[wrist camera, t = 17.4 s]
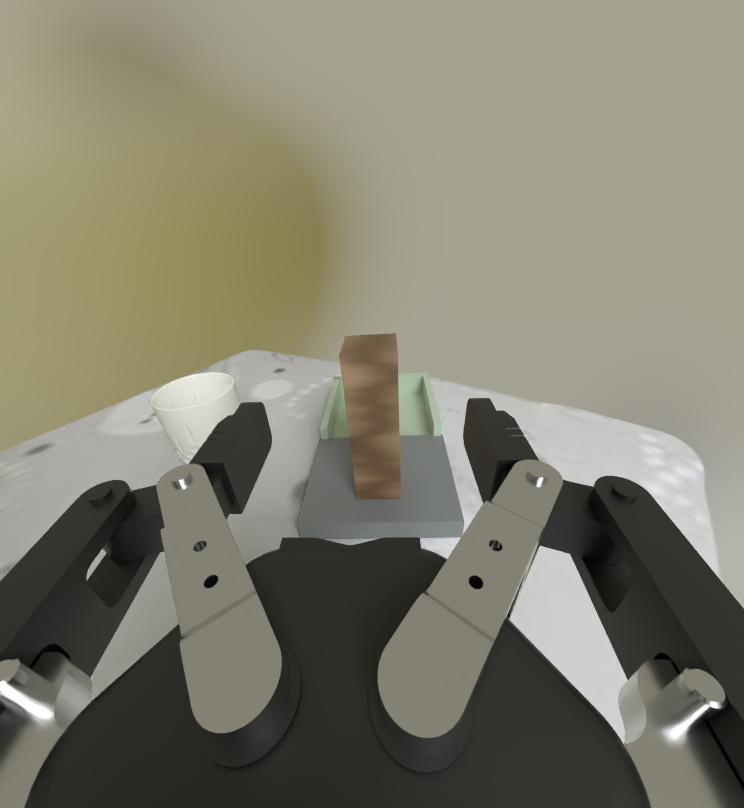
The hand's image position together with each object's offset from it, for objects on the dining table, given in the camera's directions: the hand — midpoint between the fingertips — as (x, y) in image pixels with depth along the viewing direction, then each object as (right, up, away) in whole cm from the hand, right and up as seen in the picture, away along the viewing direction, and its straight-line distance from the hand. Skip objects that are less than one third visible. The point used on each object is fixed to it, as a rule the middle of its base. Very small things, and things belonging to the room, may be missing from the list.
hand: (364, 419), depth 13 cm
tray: (+2, -2, +31) cm, 31 cm away
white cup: (-17, -7, +26) cm, 32 cm away
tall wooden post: (+1, -7, +18) cm, 20 cm away
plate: (+1, -8, +21) cm, 22 cm away
